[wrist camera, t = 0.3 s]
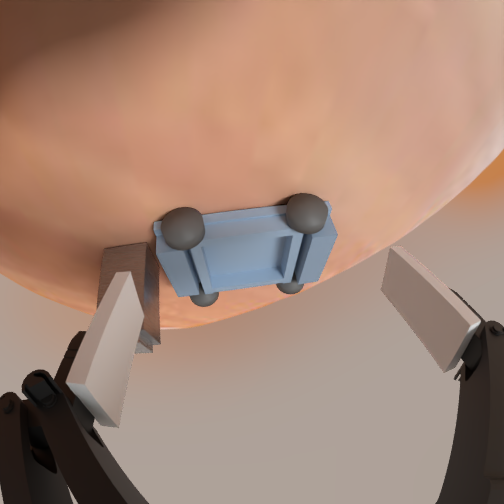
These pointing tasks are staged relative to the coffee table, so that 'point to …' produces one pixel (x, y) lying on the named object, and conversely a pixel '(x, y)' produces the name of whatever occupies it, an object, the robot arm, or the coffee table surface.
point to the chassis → (245, 247)
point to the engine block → (136, 286)
